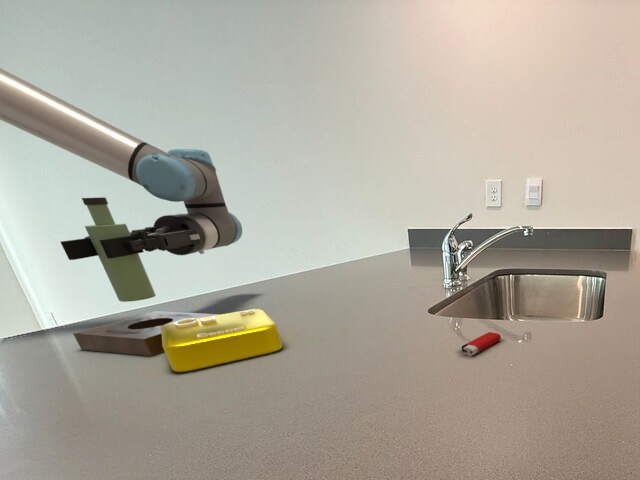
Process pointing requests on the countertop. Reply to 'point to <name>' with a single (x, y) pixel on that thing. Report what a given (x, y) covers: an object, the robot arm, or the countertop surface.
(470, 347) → the lighter
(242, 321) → the element tile
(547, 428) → the countertop surface
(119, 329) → the hole board
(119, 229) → the bottle
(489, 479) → the countertop surface
